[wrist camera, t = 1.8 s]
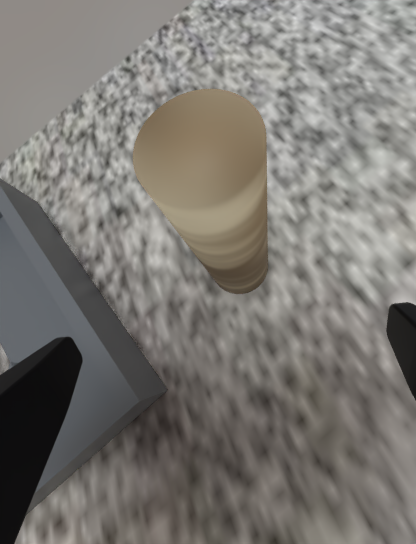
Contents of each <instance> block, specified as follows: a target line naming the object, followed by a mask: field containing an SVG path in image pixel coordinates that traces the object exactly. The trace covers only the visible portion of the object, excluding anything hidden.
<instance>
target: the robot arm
mask: <svg viewBox="0 0 416 544" xmlns="http://www.w3.org/2000/svg"><path fill="white" fill-rule="evenodd" d="M386 331H387V336H388V339H389V341H390V344H391V346H392V349H393V351H394V353H395V356H396V358H397V360H398V363H399V365H400V367H401V370H402V372H403V374H404V377H405V379H406V381H407V384H408V386H409V388H410V390H411V393H412V395H413V396H414V398H415V400H416V305H414V304H412V303H408V302H406V303H396V304H392V305H391V306H390V308H389V313H388V320H387V329H386ZM82 362H83V358H82V354H81V353H80V351H79V349H78V347H77V345H76V344H75V342H74V340H73V339H72V338H71V337H68V336H67V337H58V338H55V339H54V340H52V341H51V342H49V343H48V344H46V345H45V346H43V347H42V348H40V349H39V350H37V351H36V352H34V353H33V354H31V355H30V356H28V357H27V358H25V359H24V360H22V361H21V362H19V363H18V364H16V365H15V366H13V367H12V368H10V369H9V370H7V371H6V372H4V373H3V374H1V375H0V544H14V543H15V540H16V538H17V536H18V533H19V531H20V528H21V526H22V523H23V521H24V518H25V516H26V513H27V511H28V508H29V506H30V503H31V501H32V499H33V496H34V494H35V491H36V489H37V486H38V484H39V481H40V479H41V476H42V474H43V471H44V469H45V466H46V464H47V462H48V459H49V457H50V454H51V452H52V449H53V447H54V444H55V442H56V439H57V437H58V434H59V432H60V430H61V427H62V425H63V422H64V420H65V417H66V414H67V412H68V409H69V406H70V403H71V399H72V396H73V393H74V389H75V386H76V383H77V379H78V376H79V373H80V369H81V366H82Z"/></svg>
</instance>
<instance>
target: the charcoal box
mask: <svg viewBox="0 0 416 544" xmlns="http://www.w3.org/2000/svg"><path fill="white" fill-rule="evenodd" d="M67 336H68V337H71V338H72V339H73V340H74V342H75V344H76V345H77V347H78V349H79V351H80V353H81V354H82V358H83V362H82V366H81V369H80V373H79V376H78V379H77V383H76V386H75V389H74V393H73V396H72V399H71V403H70V406H69V409H68V412H67V414H66V417H65V420H64V422H63V425H62V427H61V430H60V432H59V434H58V437H57V439H56V442H55V444H54V447H53V449H52V452H51V454H50V457H49V459H48V462H47V464H46V466H45V469H44V471H43V474H42V476H41V479H40V481H39V484H38V486H37V489H36V491H35V494H34V496H33V499H32V501H31V503H30V506H29V508H28V511H27V513H29V512H30V511H31V510H32V509H33V508H34V507H35V506H37V505H38V504H39V503H40V502H41V501H42V500H43V499H44V498H46V497H47V496H48V495H49V494H50V493H51V492H52V491H54V490H55V489H56V488H57V487H58V486H59V485H60V484H62V483H63V482H64V481H65V480H66V479H67V478H68V477H69V476H71V475H72V474H73V473H74V472H75V471H76V470H77V469H79V468H80V467H81V466H82V465H83V464H84V463H85V462H87V461H88V460H89V459H90V458H91V457H92V456H93V455H94V454H96V453H97V452H98V451H99V450H100V449H101V448H102V447H104V446H105V445H106V444H107V443H108V442H109V441H110V440H112V439H113V438H114V437H115V436H116V435H117V434H118V433H119V432H121V431H122V430H123V429H124V428H125V427H126V426H127V425H129V424H130V423H131V422H132V421H133V420H134V419H135V418H136V417H138V416H139V415H140V414H141V413H142V412H143V411H144V410H146V409H147V408H148V407H149V406H150V405H151V404H152V403H154V402H155V401H156V400H157V399H158V398H159V397H160V396H161V395H163V394H164V393H165V392H166V391H167V388H166V387H165V385H164V384H163V382H162V381H161V380H160V378H159V377H158V375H157V374H156V372H155V371H154V370H153V368H152V367H151V365H150V364H149V362H148V361H147V359H146V358H145V357H144V355H143V354H142V352H141V351H140V349H139V348H138V346H137V345H136V344H135V342H134V341H133V339H132V338H131V336H130V335H129V334H128V332H127V331H126V329H125V328H124V326H123V325H122V323H121V322H120V321H119V319H118V318H117V316H116V315H115V313H114V312H113V310H112V309H111V308H110V306H109V305H108V303H107V302H106V300H105V299H104V298H103V296H102V295H101V293H100V292H99V290H98V289H97V287H96V286H95V285H94V283H93V282H92V280H91V279H90V277H89V276H88V274H87V273H86V272H85V270H84V269H83V267H82V266H81V264H80V263H79V262H78V260H77V259H76V257H75V256H74V254H73V253H72V251H71V250H70V249H69V247H68V246H67V244H66V243H65V241H64V240H63V238H62V237H61V236H60V234H59V233H58V231H57V230H56V228H55V227H54V226H53V224H52V223H51V221H50V220H49V218H48V217H47V215H46V214H45V213H44V211H43V210H42V208H41V207H40V205H39V204H38V202H36V201H35V200H33V199H31V198H30V197H28V196H27V195H25V194H24V193H22V192H21V191H19V190H17V189H16V188H14V187H13V186H11V185H10V184H8V183H6V182H5V181H3V180H2V179H0V343H1V345H2V347H3V349H4V351H5V353H6V355H7V357H8V359H9V361H10V365H9V369H10V368H12V367H13V366H15V365H16V364H18V363H19V362H21V361H22V360H24V359H25V358H27V357H28V356H30V355H31V354H33V353H34V352H36V351H37V350H39V349H40V348H42V347H43V346H45V345H46V344H48V343H49V342H51V341H52V340H54V339H55V338H58V337H67ZM9 369H8V370H9ZM27 513H26V514H27Z"/></svg>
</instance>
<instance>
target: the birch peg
mask: <svg viewBox="0 0 416 544" xmlns="http://www.w3.org/2000/svg"><path fill="white" fill-rule="evenodd" d="M133 164H134V170H135V173H136V176H137V178H138V180H139V182H140V184H141V185H142V186H143V188H144V189H145V190H146V191H147V193H148V194H149V195H150V197H151V198H152V199H153V201H154V202H155V203H156V204H157V206H158V207H159V208H160V210H161V211H162V212H163V214H164V215H165V216H166V217H167V219H168V220H169V221H170V223H171V224H172V225H173V227H174V228H175V229H176V230H177V232H178V233H179V234H180V236H181V237H182V238H183V240H184V241H185V242H186V243H187V245H188V246H189V247H190V249H191V250H192V251H193V253H194V254H195V255H196V256H197V258H198V259H199V260H200V262H201V263H202V264H203V266H204V267H205V268H206V269H207V271H208V272H209V273H210V275H211V276H212V277H213V279H214V280H215V281H216V282H217V284H218V285H219V286H220V287H221V288H223V289H224V290H226V291H228V292H230V293H235V294H243V293H248V292H250V291H252V290H254V289H256V288H257V287H258V286H259V285H260V284H261V283H262V282H263V280H264V279H265V277H266V274H267V270H268V244H267V153H266V129H265V125H264V122H263V119H262V117H261V115H260V114H259V112H258V111H257V109H256V108H255V107H254V106H253V105H252V104H251V103H250V102H249V101H248V100H246V99H245V98H243V97H241V96H239V95H237V94H235V93H232V92H229V91H225V90H220V89H201V90H195V91H191V92H187V93H184V94H182V95H179V96H177V97H175V98H173V99H171V100H169V101H168V102H166V103H165V104H163V105H162V106H161V107H159V108H158V109H157V110H156V111H155V112H154V113H153V114H152V115H151V116H150V117H149V118H148V119H147V121H146V122H145V123H144V125H143V126H142V128H141V130H140V132H139V134H138V136H137V139H136V142H135V146H134V151H133Z"/></svg>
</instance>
